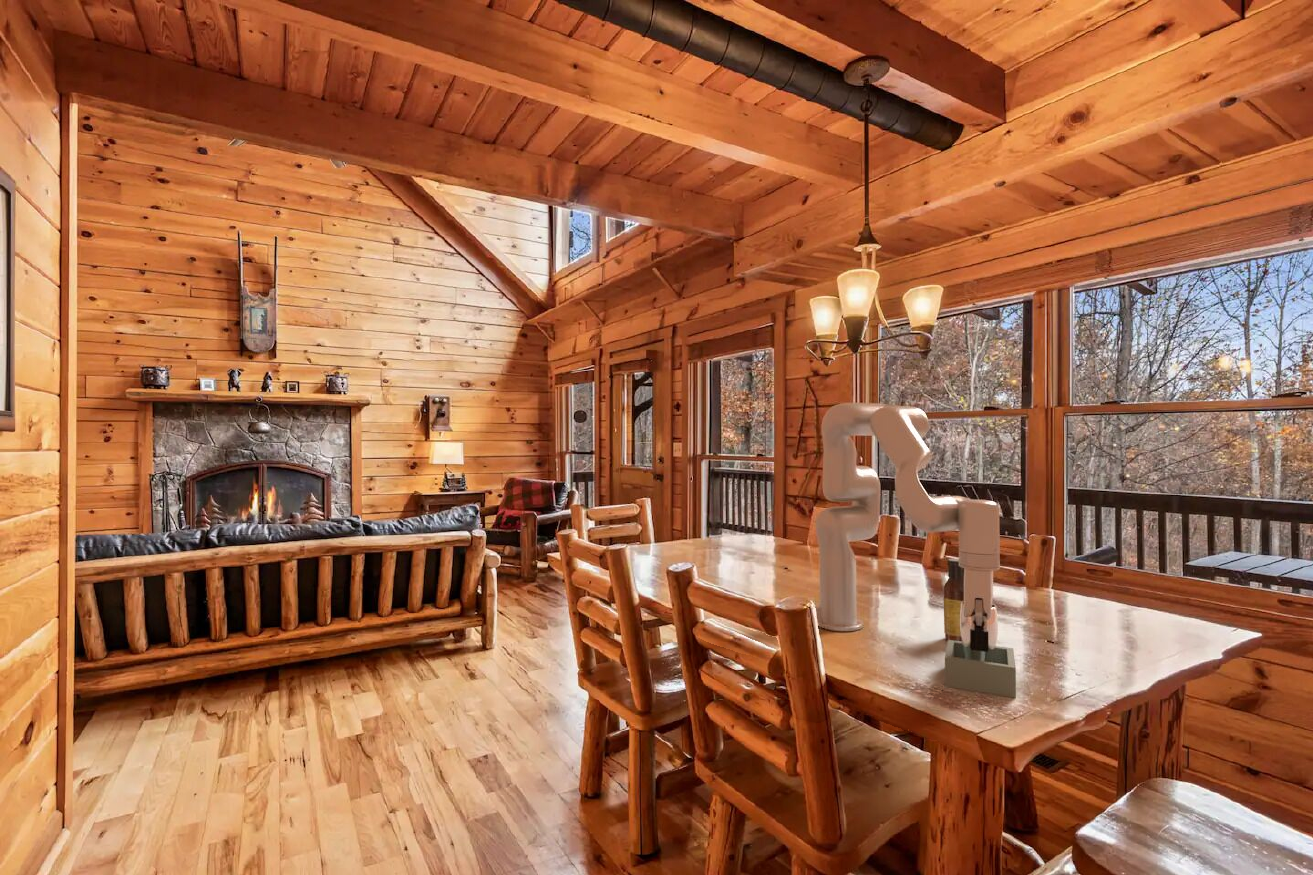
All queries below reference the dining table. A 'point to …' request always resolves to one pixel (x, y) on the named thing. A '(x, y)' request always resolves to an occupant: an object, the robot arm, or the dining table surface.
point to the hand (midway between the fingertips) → (979, 643)
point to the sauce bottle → (953, 600)
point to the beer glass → (966, 626)
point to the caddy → (981, 671)
